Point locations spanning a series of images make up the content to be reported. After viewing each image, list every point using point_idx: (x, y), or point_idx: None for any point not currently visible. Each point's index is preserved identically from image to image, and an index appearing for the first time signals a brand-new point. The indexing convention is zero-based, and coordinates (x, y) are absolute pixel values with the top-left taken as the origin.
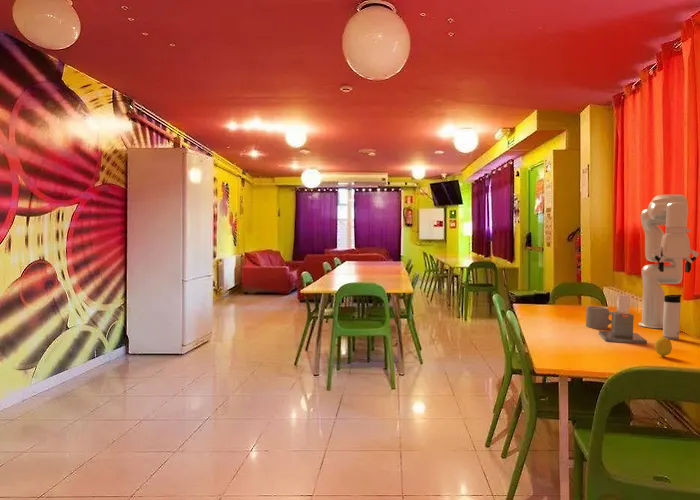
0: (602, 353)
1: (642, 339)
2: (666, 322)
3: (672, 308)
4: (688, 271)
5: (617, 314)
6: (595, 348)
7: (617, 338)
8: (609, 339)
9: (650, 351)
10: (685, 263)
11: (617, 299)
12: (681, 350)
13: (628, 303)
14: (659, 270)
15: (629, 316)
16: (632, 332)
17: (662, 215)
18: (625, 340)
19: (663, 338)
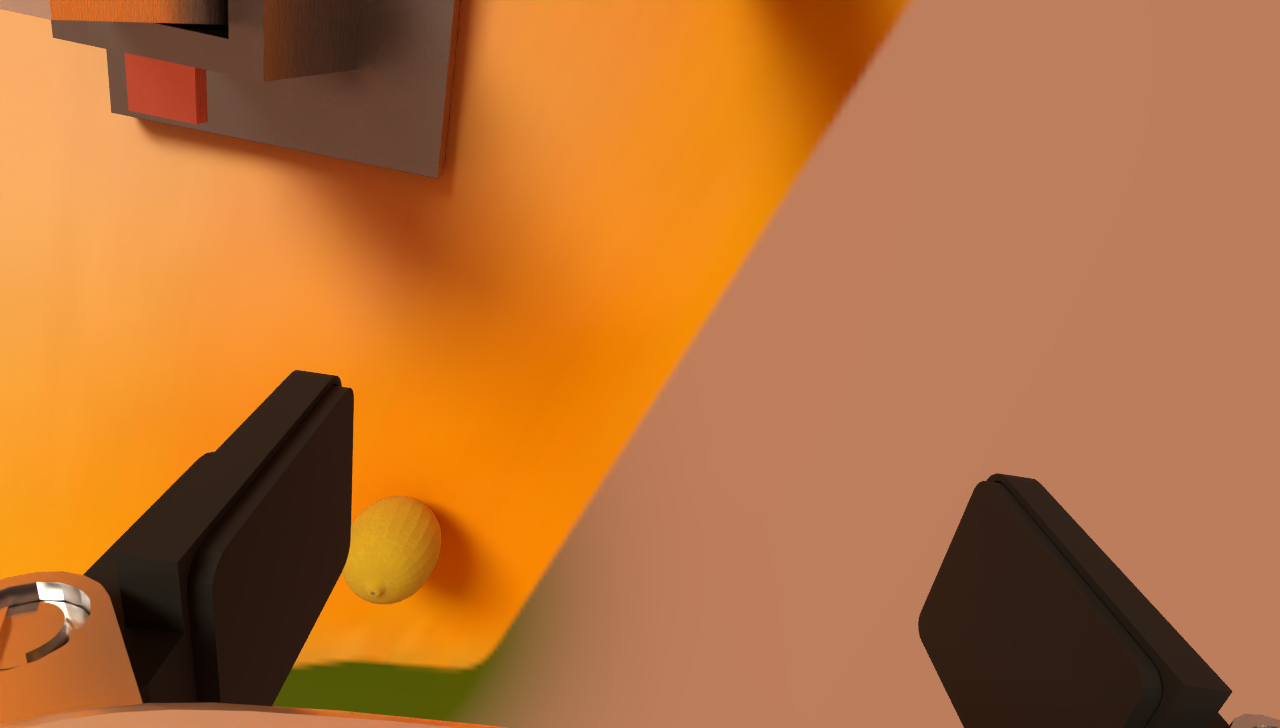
0: (66, 480)
1: (417, 130)
2: None
3: None
4: (935, 654)
5: (78, 42)
6: (31, 362)
7: (211, 121)
8: (150, 118)
9: (385, 392)
10: (1121, 688)
11: None
12: (611, 336)
13: (124, 19)
14: (293, 388)
15: (225, 72)
16: (332, 71)
17: None
18: (277, 143)
19: (368, 599)
